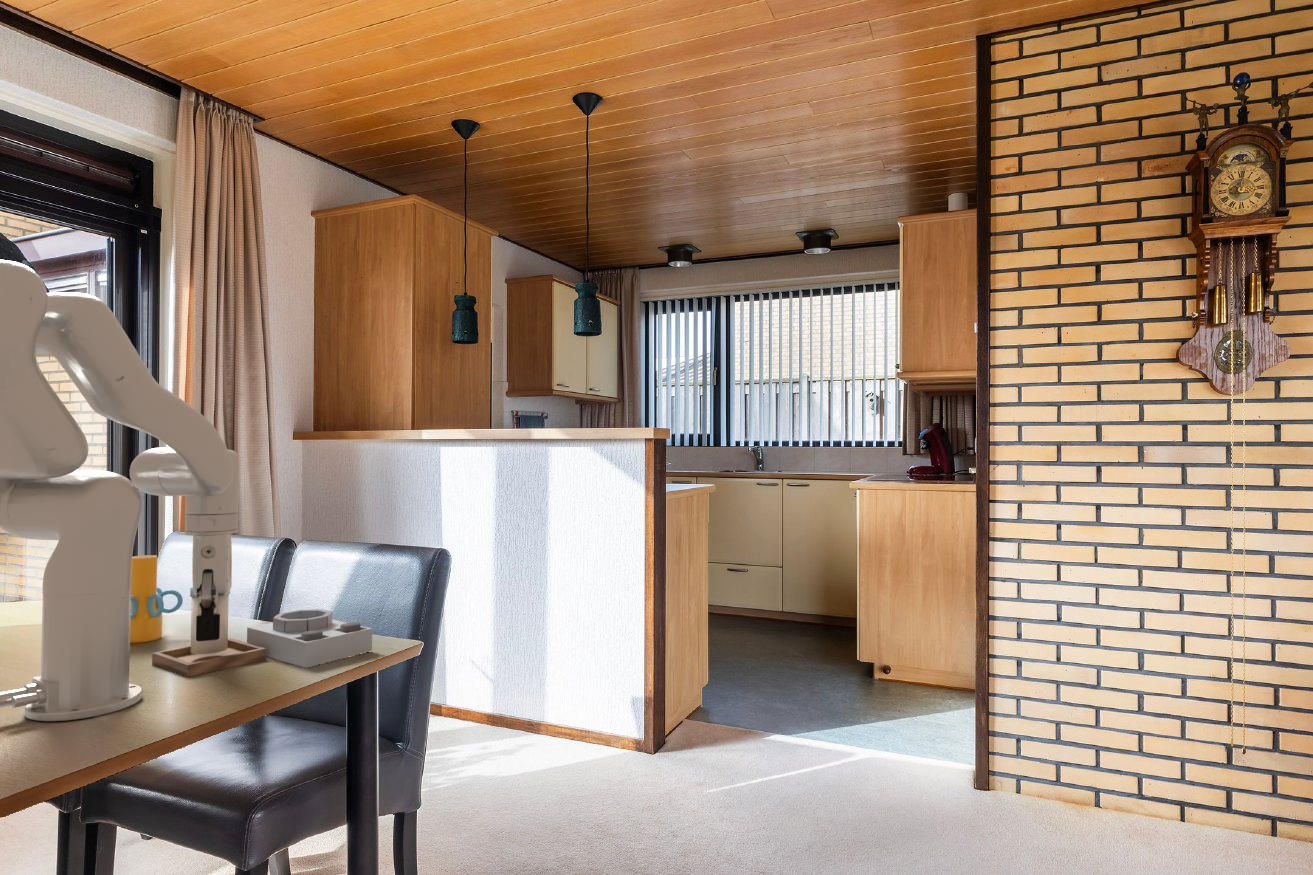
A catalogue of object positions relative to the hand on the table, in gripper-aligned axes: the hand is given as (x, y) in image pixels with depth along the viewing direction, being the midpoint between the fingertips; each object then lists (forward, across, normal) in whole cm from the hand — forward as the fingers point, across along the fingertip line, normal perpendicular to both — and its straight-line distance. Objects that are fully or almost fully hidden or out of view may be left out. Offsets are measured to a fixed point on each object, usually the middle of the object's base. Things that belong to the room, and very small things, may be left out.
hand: (209, 634), depth 123 cm
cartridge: (+2, 0, 0) cm, 2 cm away
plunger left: (+3, -7, -15) cm, 17 cm away
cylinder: (+5, +22, +12) cm, 25 cm away
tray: (+4, 0, 0) cm, 4 cm away
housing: (+4, 0, -15) cm, 16 cm away
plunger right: (+3, -3, -21) cm, 22 cm away
